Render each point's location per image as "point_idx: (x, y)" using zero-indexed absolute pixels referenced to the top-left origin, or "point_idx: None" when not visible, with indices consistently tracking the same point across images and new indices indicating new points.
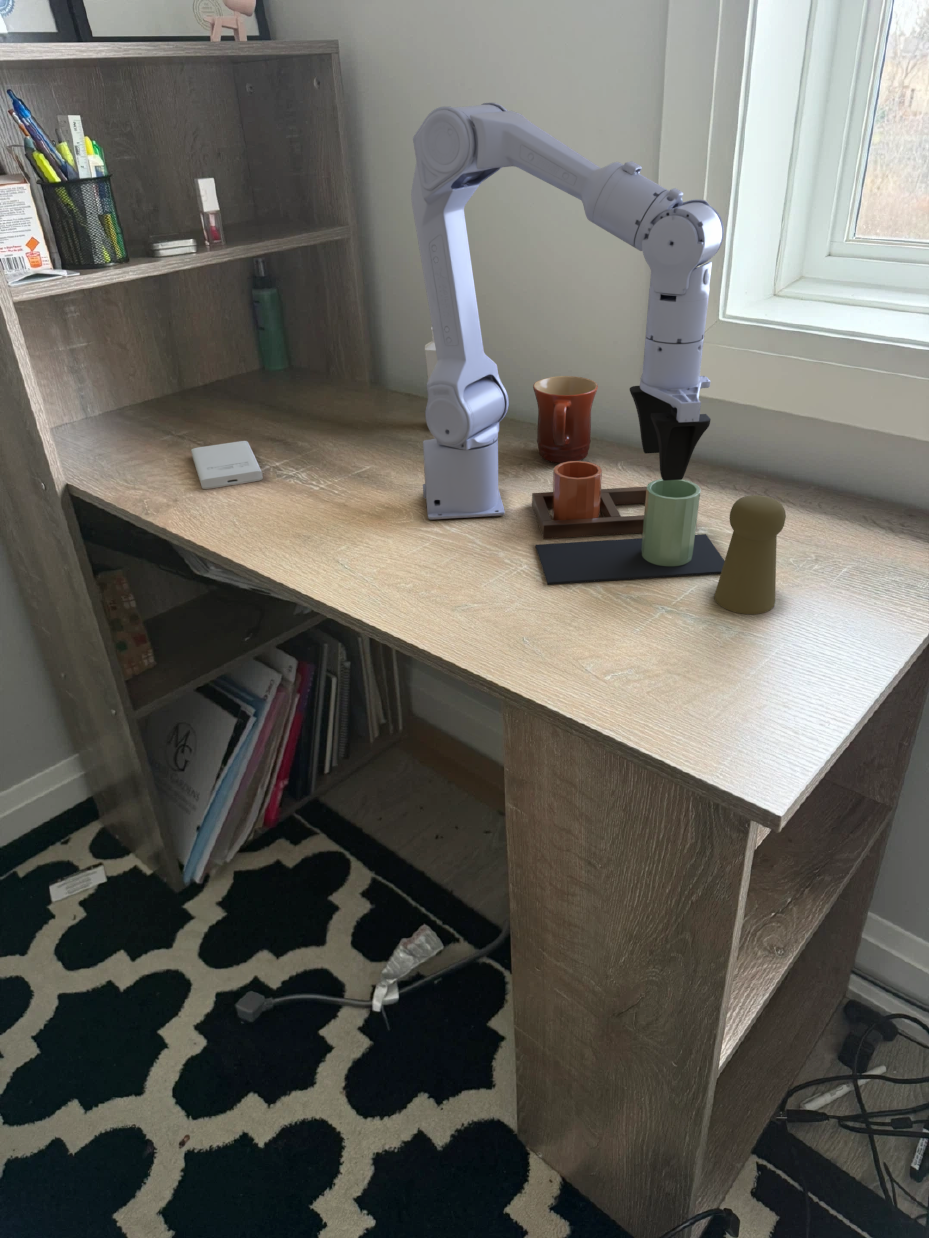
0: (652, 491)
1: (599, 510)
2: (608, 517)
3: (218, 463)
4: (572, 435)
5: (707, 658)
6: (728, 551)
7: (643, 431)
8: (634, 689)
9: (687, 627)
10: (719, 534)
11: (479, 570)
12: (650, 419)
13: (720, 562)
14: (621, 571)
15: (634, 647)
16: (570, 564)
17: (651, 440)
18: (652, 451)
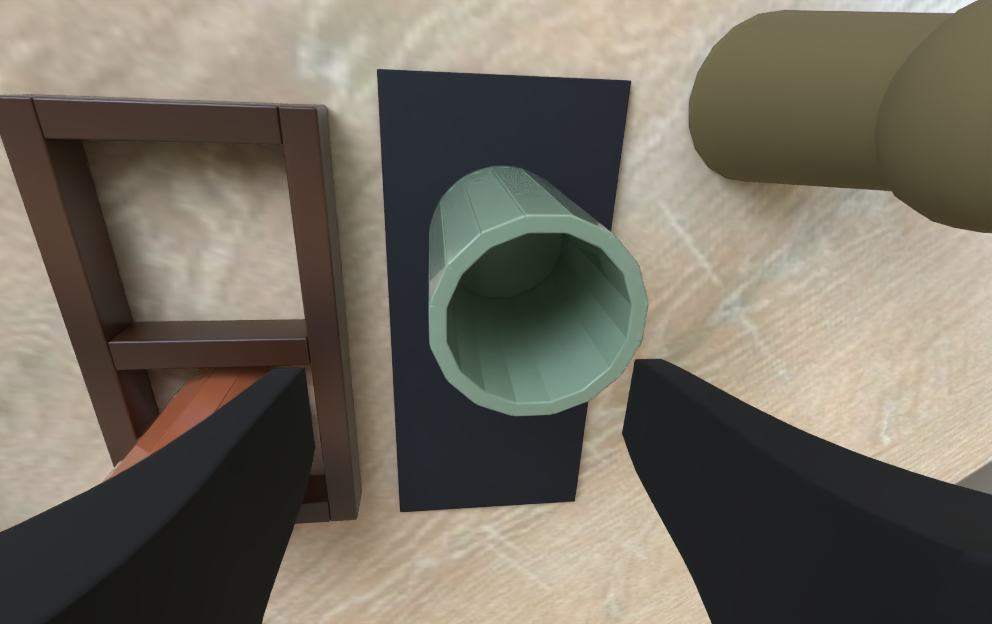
0: (552, 404)
1: (244, 380)
2: (315, 373)
3: None
4: None
5: (923, 272)
6: (842, 186)
7: (278, 555)
8: (933, 409)
9: (814, 278)
10: (363, 9)
11: (489, 593)
12: (244, 597)
13: (575, 95)
14: None
15: (831, 387)
16: (507, 457)
17: (293, 471)
18: (310, 422)
